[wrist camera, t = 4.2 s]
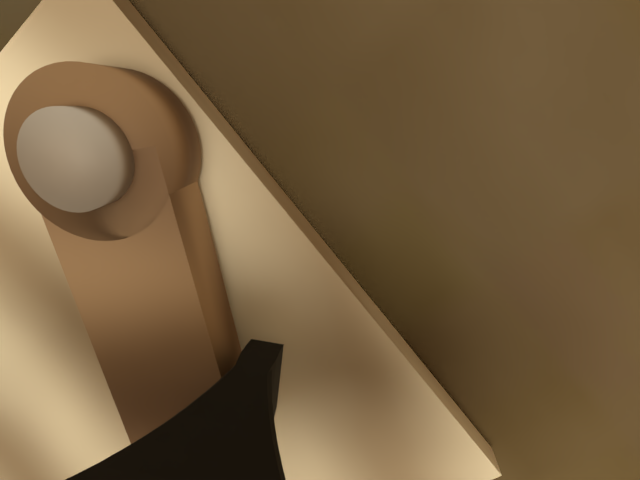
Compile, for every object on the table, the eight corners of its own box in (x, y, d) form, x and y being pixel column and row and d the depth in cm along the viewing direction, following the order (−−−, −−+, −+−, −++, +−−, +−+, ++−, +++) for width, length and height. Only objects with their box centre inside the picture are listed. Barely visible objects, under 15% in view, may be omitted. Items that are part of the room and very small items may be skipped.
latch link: (33, 83, 9) (-56, 77, 7) (177, 53, 9) (123, 39, 7) (200, 548, 14) (173, 621, 12) (301, 547, 13) (290, 624, 11)
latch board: (164, 600, 17) (152, 628, 16) (-179, 308, 14) (-219, 323, 13) (491, 447, 13) (501, 475, 12) (105, -29, 10) (76, -44, 9)
